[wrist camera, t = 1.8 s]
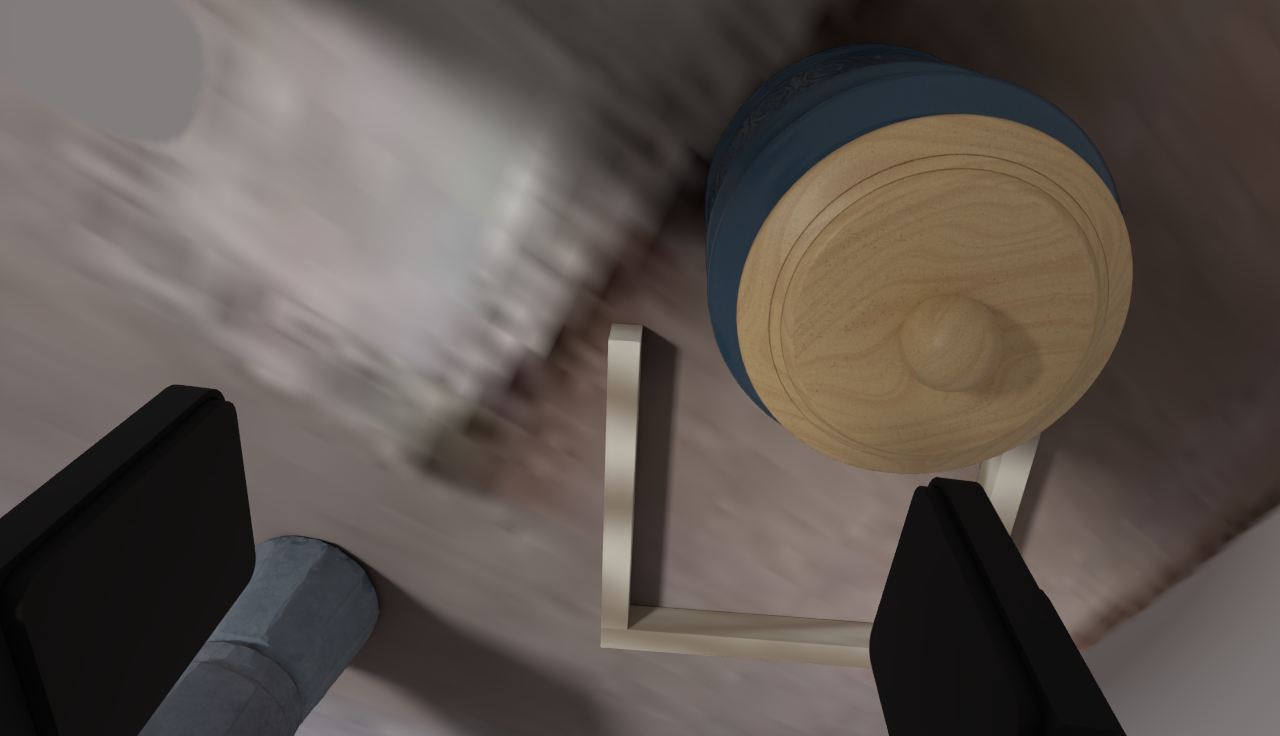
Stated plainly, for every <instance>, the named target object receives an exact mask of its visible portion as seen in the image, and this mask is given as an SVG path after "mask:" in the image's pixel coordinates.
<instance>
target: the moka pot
mask: <svg viewBox="0 0 1280 736" xmlns="http://www.w3.org/2000/svg"><path fill="white" fill-rule="evenodd" d="M255 553H256V564H255V569H254V573H253V576H252V578H251V580H250V582H249V584H248V585H247V587H246V588H245V589H244V591H243V592H242V593H241V595H240V596H239V598H238V599H237V600H236V602H235V603H234V604H233V606H232V607H231V608H230V610H229V611H228V613H227V614H226V615H225V617H224V618H223V619H222V621H221V622H220V624H219V625H218V626H217V628H216V629H215V630H214V632H213V633H212V635H211V636H210V637H209V639H208V640H207V641H206V643H205V644H204V645H203V647H202V648H201V650H200V651H199V652H198V654H197V655H196V656H195V658H194V659H193V661H192V662H191V663H190V665H189V666H188V667H187V669H186V670H185V671H184V673H183V674H182V676H181V677H180V678H179V680H178V681H177V682H176V684H175V685H174V687H173V688H172V689H171V691H170V692H169V693H168V695H167V696H166V698H165V699H164V700H163V702H162V703H161V704H160V706H159V707H158V708H157V710H156V711H155V713H154V714H153V715H152V717H151V718H150V719H149V721H148V722H147V724H146V725H145V726H144V728H143V729H142V730H141V732H140V733H139V735H138V736H294V734H295V732H296V731H297V729H298V727H299V725H300V724H301V723H302V722H303V721H304V719H305V718H306V717H307V716H308V714H309V713H310V712H311V710H312V709H313V708H314V707H315V706H316V705H317V704H318V703H319V702H320V700H321V699H322V698H323V697H324V695H325V694H326V692H327V691H328V690H329V688H330V687H331V686H332V685H333V683H334V682H335V681H336V680H337V678H338V677H339V676H340V675H341V673H342V672H343V671H344V670H345V668H346V667H347V666H348V665H349V664H350V663H351V661H352V660H353V659H354V658H355V657H356V655H357V654H358V653H359V651H360V650H361V649H362V647H363V646H364V645H365V643H366V642H367V641H368V640H369V637H370V635H371V634H372V632H373V629H374V627H375V625H376V623H377V620H378V616H379V611H380V609H379V602H378V598H377V595H376V593H375V590H374V587H373V585H372V583H371V581H370V579H369V578H368V575H367V574H366V573H365V571H364V570H363V569H362V567H360V566H359V565H358V564H357V563H356V562H355V561H354V560H353V559H351V558H349V557H348V556H347V555H346V554H344V553H343V552H342V551H340V550H339V549H338V548H336V547H333V546H331V545H329V544H326V543H324V542H322V541H320V540H316V539H310V538H305V537H298V536H281V537H277V538H274V539H270V540H268V541H266V542H263V543H261V544H259V545H258V546H256V547H255Z"/></svg>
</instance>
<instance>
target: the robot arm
mask: <svg viewBox="0 0 1280 736" xmlns="http://www.w3.org/2000/svg"><path fill="white" fill-rule="evenodd" d="M255 564H256V553H255V545H254V538H253V531H252V523H251V516H250V509H249V501H248V494H247V486H246V479H245V472H244V464H243V457H242V450H241V442H240V435H239V428H238V420H237V413H236V409H235V407H234V405H233V403H231V402H229V401H225V399H224V396H223V395H222V393H221V392H220V391H218V390H217V389H209V388H201V387H193V386H185V385H171V386H169V387H167V388H166V389H164V390H163V391H162V392H160V393H159V394H158V395H157V396H155V397H154V398H153V399H152V400H150V401H149V402H148V403H146V404H145V405H144V406H143V407H141V408H140V409H139V410H138V411H136V412H135V413H134V414H132V415H131V416H130V417H129V418H127V419H126V420H125V421H124V422H122V423H121V424H120V425H119V426H117V427H116V428H115V429H113V430H112V431H111V432H110V433H108V434H107V435H106V436H105V437H103V438H102V439H101V440H99V441H98V442H97V443H96V444H94V445H93V446H92V447H91V448H89V449H88V450H87V451H85V452H84V453H83V454H82V455H80V456H79V457H78V458H77V459H75V460H74V461H73V462H71V463H70V464H69V465H68V466H66V467H65V468H64V469H63V470H61V471H60V472H59V473H57V474H56V475H55V476H54V477H52V478H51V479H50V480H49V481H47V482H46V483H45V484H43V485H42V486H41V487H40V488H38V489H37V490H36V491H35V492H33V493H32V494H31V495H29V496H28V497H27V498H26V499H24V500H23V501H22V502H21V503H19V504H18V505H17V506H15V507H14V508H13V509H12V510H10V511H9V512H8V513H7V514H5V515H4V516H3V517H2V518H0V736H138V735H139V733H140V732H141V730H142V729H143V728H144V726H145V725H146V724H147V722H148V721H149V719H150V718H151V717H152V715H153V714H154V713H155V711H156V710H157V708H158V707H159V706H160V704H161V703H162V702H163V700H164V699H165V698H166V696H167V695H168V693H169V692H170V691H171V689H172V688H173V687H174V685H175V684H176V682H177V681H178V680H179V678H180V677H181V676H182V674H183V673H184V671H185V670H186V669H187V667H188V666H189V665H190V663H191V662H192V661H193V659H194V658H195V656H196V655H197V654H198V652H199V651H200V650H201V648H202V647H203V645H204V644H205V643H206V641H207V640H208V639H209V637H210V636H211V635H212V633H213V632H214V630H215V629H216V628H217V626H218V625H219V624H220V622H221V621H222V619H223V618H224V617H225V615H226V614H227V613H228V611H229V610H230V608H231V607H232V606H233V604H234V603H235V602H236V600H237V599H238V598H239V596H240V595H241V593H242V592H243V591H244V589H245V588H246V587H247V585H248V584H249V582H250V580H251V578H252V576H253V573H254V569H255ZM869 657H870V662H871V666H872V670H873V674H874V678H875V682H876V686H877V690H878V694H879V698H880V702H881V705H882V709H883V713H884V717H885V721H886V725H887V729H888V733H889V736H1126V734H1125V732H1124V730H1123V729H1122V727H1121V725H1120V723H1119V722H1118V720H1117V718H1116V716H1115V714H1114V713H1113V711H1112V709H1111V707H1110V706H1109V704H1108V702H1107V700H1106V698H1105V697H1104V695H1103V693H1102V691H1101V690H1100V688H1099V686H1098V684H1097V683H1096V681H1095V679H1094V677H1093V675H1092V674H1091V672H1090V670H1089V668H1088V667H1087V665H1086V663H1085V661H1084V659H1083V658H1082V656H1081V654H1080V652H1079V651H1078V649H1077V647H1076V645H1075V644H1074V642H1073V640H1072V638H1071V636H1070V635H1069V633H1068V631H1067V629H1066V628H1065V626H1064V624H1063V622H1062V621H1061V619H1060V617H1059V615H1058V613H1057V612H1056V610H1055V608H1054V606H1053V605H1052V603H1051V601H1050V599H1049V598H1048V597H1047V595H1046V594H1045V593H1044V592H1043V590H1041V589H1039V587H1038V585H1037V583H1036V582H1035V580H1034V578H1033V576H1032V574H1031V573H1030V571H1029V569H1028V567H1027V565H1026V564H1025V562H1024V560H1023V558H1022V556H1021V555H1020V553H1019V551H1018V549H1017V547H1016V546H1015V544H1014V542H1013V540H1012V539H1011V537H1010V535H1009V533H1008V531H1007V530H1006V528H1005V526H1004V524H1003V522H1002V521H1001V519H1000V517H999V515H998V513H997V512H996V510H995V508H994V506H993V505H992V503H991V501H990V499H989V497H988V496H987V494H986V492H985V490H984V488H983V487H982V486H981V484H980V483H977V482H972V481H964V480H956V479H948V478H940V477H935V478H933V479H932V480H931V482H930V483H929V485H928V487H926V486H919V487H917V489H916V490H915V492H914V494H913V497H912V501H911V504H910V507H909V510H908V514H907V517H906V520H905V523H904V526H903V530H902V533H901V536H900V539H899V543H898V546H897V549H896V552H895V556H894V559H893V562H892V565H891V569H890V572H889V575H888V578H887V581H886V585H885V588H884V591H883V594H882V598H881V601H880V604H879V607H878V611H877V614H876V617H875V620H874V624H873V627H872V630H871V634H870V640H869Z"/></svg>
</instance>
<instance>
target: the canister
mask: <svg viewBox="0 0 1280 736" xmlns="http://www.w3.org/2000/svg"><path fill="white" fill-rule="evenodd" d="M705 227H706V234H707V240H706V269H707V278H708V279H707V295H708V307H709V314H710V320H711V324H712V328H713V332H714V336H715V339H716V342H717V345H718V347H719V350H720V352H721V354H722V357H723V359H724V361H725V363H726V365H727V367H728V368H729V370H730V372H731V374H732V375H733V377H734V378H735V380H736V381H737V383H738V384H739V385H740V387H741V388H742V389H743V390H744V392H745V393H746V394H747V395H748V396H749V397H750V399H751V400H752V401H753V402H754V403H755V404H756V405H757V406H758V407H759V408H761V409H762V410H763V411H764V412H765V413H766V414H767V415H769V416H770V417H771V418H772V419H774V420H775V421H776V422H778V423H779V424H781V425H782V426H783V427H785V428H786V429H787V430H788V431H789V432H790V433H791V434H792V435H794V436H795V437H796V438H798V439H799V440H800V441H802V442H803V443H805V444H806V445H808V446H809V447H811V448H812V449H814V450H816V451H818V452H820V453H822V454H824V455H826V456H828V457H830V458H832V459H835V460H837V461H840V462H843V463H845V464H848V465H852V466H855V467H859V468H863V469H868V470H872V471H879V472H886V473H899V474H920V473H933V472H941V471H947V470H952V469H958V468H962V467H966V466H970V465H973V464H976V463H979V462H982V461H986V460H988V459H991V458H993V457H996V456H998V455H1001V454H1003V453H1005V452H1007V451H1009V450H1012V449H1013V448H1015V447H1017V446H1019V445H1021V444H1023V443H1025V442H1026V441H1028V440H1030V439H1031V438H1033V437H1034V436H1036V435H1038V434H1039V433H1040V432H1042V431H1043V430H1045V429H1046V428H1048V427H1049V426H1050V425H1052V424H1053V423H1054V422H1055V421H1056V420H1058V419H1059V418H1060V417H1061V416H1063V415H1064V414H1065V413H1066V412H1067V411H1068V410H1069V409H1070V408H1071V407H1072V406H1073V405H1074V404H1075V403H1076V402H1077V401H1078V400H1079V399H1080V398H1081V397H1082V396H1083V395H1084V393H1085V392H1086V391H1087V390H1088V389H1089V387H1090V386H1091V385H1092V384H1093V382H1094V381H1095V380H1096V378H1097V377H1098V375H1099V374H1100V373H1101V371H1102V369H1103V368H1104V366H1105V365H1106V363H1107V361H1108V360H1109V358H1110V356H1111V354H1112V352H1113V350H1114V348H1115V346H1116V344H1117V342H1118V339H1119V337H1120V335H1121V332H1122V329H1123V326H1124V323H1125V320H1126V317H1127V313H1128V309H1129V304H1130V298H1131V292H1132V280H1133V261H1132V252H1131V245H1130V240H1129V235H1128V231H1127V228H1126V225H1125V222H1124V219H1123V213H1122V209H1121V204H1120V199H1119V196H1118V193H1117V189H1116V186H1115V183H1114V180H1113V178H1112V176H1111V173H1110V171H1109V169H1108V167H1107V165H1106V163H1105V161H1104V159H1103V157H1102V155H1101V154H1100V152H1099V151H1098V149H1097V148H1096V146H1095V145H1094V143H1093V142H1092V141H1091V139H1090V138H1089V137H1088V136H1087V135H1086V133H1085V132H1084V131H1083V130H1082V129H1081V128H1080V127H1079V126H1078V125H1077V124H1076V123H1075V122H1074V121H1073V120H1072V119H1071V118H1070V117H1069V116H1068V115H1067V114H1065V113H1064V112H1063V111H1062V110H1061V109H1059V108H1058V107H1057V106H1055V105H1054V104H1052V103H1051V102H1049V101H1048V100H1046V99H1045V98H1043V97H1041V96H1039V95H1037V94H1036V93H1034V92H1032V91H1030V90H1028V89H1025V88H1023V87H1021V86H1018V85H1016V84H1014V83H1011V82H1008V81H1004V80H1001V79H998V78H994V77H990V76H986V75H984V74H981V73H979V72H977V71H974V70H970V69H967V68H964V67H961V66H956V65H952V64H949V63H947V62H946V61H944V60H942V59H940V58H937V57H935V56H933V55H930V54H928V53H925V52H921V51H918V50H915V49H912V48H907V47H903V46H898V45H891V44H878V43H868V44H854V45H846V46H841V47H836V48H832V49H829V50H825V51H822V52H819V53H816V54H814V55H811V56H809V57H806V58H804V59H802V60H800V61H798V62H796V63H794V64H792V65H790V66H789V67H787V68H785V69H784V70H782V71H781V72H779V73H778V74H776V75H775V76H773V77H772V78H771V79H769V80H768V81H767V82H766V83H764V84H763V85H762V86H761V87H760V88H759V89H758V90H757V91H755V92H754V93H753V95H752V96H751V97H750V98H749V99H748V100H747V101H746V102H745V103H744V104H743V106H742V107H741V108H740V109H739V110H738V112H737V113H736V115H735V116H734V117H733V119H732V120H731V122H730V123H729V125H728V127H727V128H726V130H725V132H724V134H723V136H722V137H721V139H720V141H719V144H718V146H717V148H716V151H715V153H714V156H713V159H712V162H711V165H710V169H709V173H708V178H707V184H706V191H705Z"/></svg>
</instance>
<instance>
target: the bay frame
mask: <svg viewBox="0 0 1280 736" xmlns="http://www.w3.org/2000/svg"><path fill="white" fill-rule="evenodd" d="M642 330H643V325H630V324H613V323H612V327H611V332H610V336H609V341H608V380H607V419H606V457H605V496H604V535H603V574H602V612H601V647H605V648H617V649H630V650H643V651H656V652H669V653H682V654H695V655H708V656H721V657H734V658H747V659H760V660H773V661H786V662H799V663H812V664H825V665H838V666H851V667H864V668H872V666H871V662H870V657H869V640H870V634H871V630H872V627H873V624H874V623H863V622H850V621H837V620H823V619H810V618H797V617H783V616H770V615H757V614H743V613H730V612H717V611H703V610H690V609H677V608H663V607H650V606H637V605H630V591H631V570H632V548H633V526H634V504H635V483H636V461H637V439H638V417H639V395H640V374H641V352H642ZM1041 433H1042V432H1040V433H1039V434H1038V435H1036V436H1034V437H1033V438H1031V439H1030V440H1028V441H1026V442H1025V443H1023V444H1021V445H1019V446H1017V447H1015V448H1013V449H1012V450H1009V451H1007V452H1005V453H1003V454H1001V455H998V456H996V457H993V458H991V459H988V460H986V461H982V464H981V468H980V472H979V475H978V479H977V483H980V484H981V486H982V487H983V488H984V490H985V492H986V494H987V496H988V497H989V499H990V501H991V503H992V505H993V506H994V508H995V510H996V512H997V513H998V515H999V517H1000V519H1001V521H1002V522H1003V524H1004V526H1005V528H1006V530H1007V531H1008V533H1009V535H1011V532H1012V529H1013V525H1014V522H1015V519H1016V515H1017V512H1018V509H1019V505H1020V502H1021V499H1022V495H1023V492H1024V489H1025V486H1026V482H1027V479H1028V476H1029V472H1030V469H1031V466H1032V462H1033V459H1034V456H1035V452H1036V449H1037V446H1038V442H1039V439H1040V436H1041Z"/></svg>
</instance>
